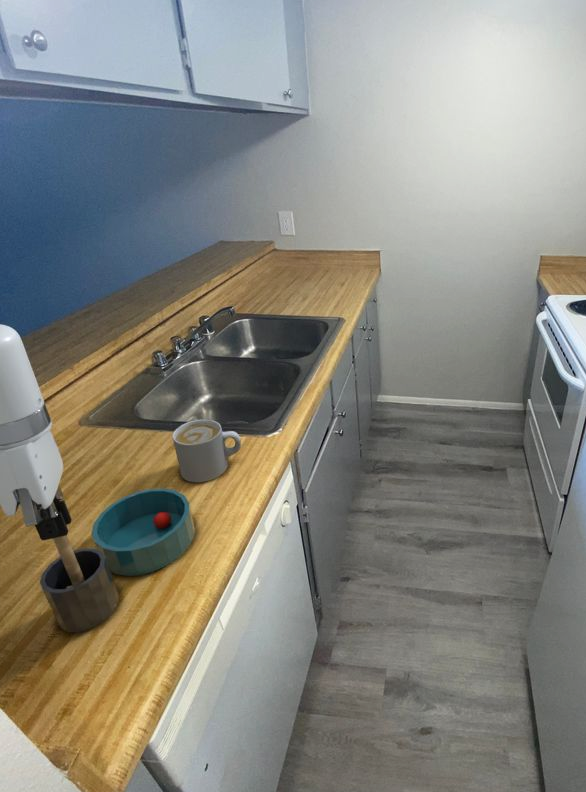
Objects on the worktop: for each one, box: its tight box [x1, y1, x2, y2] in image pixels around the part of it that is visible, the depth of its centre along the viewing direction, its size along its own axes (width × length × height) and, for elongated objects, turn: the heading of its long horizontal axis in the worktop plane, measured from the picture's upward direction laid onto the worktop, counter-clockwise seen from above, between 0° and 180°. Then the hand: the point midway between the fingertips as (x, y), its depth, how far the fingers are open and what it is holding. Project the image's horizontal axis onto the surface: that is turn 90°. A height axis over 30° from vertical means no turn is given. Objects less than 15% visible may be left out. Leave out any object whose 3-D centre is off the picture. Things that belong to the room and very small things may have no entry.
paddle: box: [40, 507, 85, 589], centre depth 70 cm, size 4×2×22 cm, turn 113°
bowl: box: [91, 488, 196, 577], centre depth 87 cm, size 16×16×6 cm
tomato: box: [154, 512, 171, 529], centre depth 90 cm, size 3×3×3 cm
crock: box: [39, 547, 120, 633], centre depth 73 cm, size 8×8×9 cm
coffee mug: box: [172, 419, 242, 483], centre depth 105 cm, size 13×10×10 cm
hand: (57, 530), depth 67 cm, fingers closed on paddle, 1 cm apart
